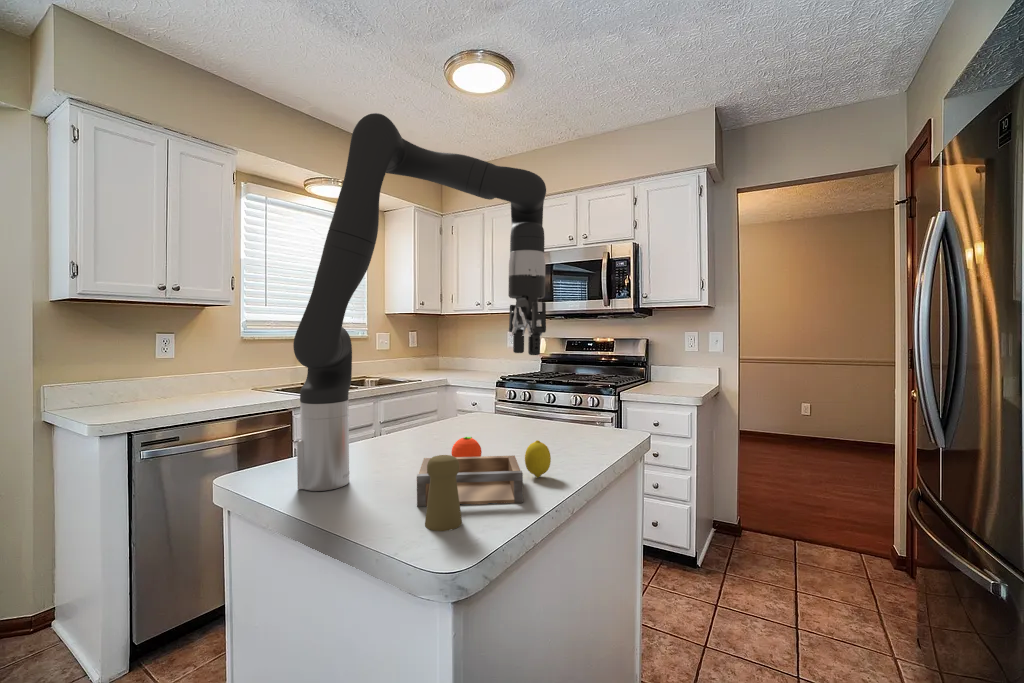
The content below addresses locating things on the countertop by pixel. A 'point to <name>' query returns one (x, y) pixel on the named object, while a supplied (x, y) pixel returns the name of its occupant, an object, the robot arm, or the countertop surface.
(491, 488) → the box
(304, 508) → the countertop surface
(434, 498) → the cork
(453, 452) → the clementine
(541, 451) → the lemon
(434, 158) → the robot arm
